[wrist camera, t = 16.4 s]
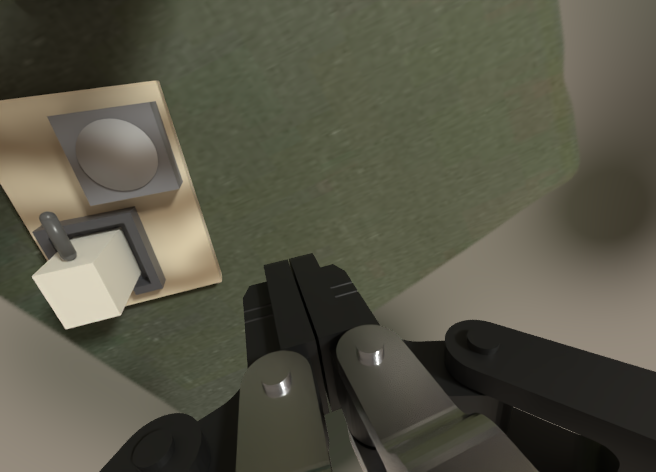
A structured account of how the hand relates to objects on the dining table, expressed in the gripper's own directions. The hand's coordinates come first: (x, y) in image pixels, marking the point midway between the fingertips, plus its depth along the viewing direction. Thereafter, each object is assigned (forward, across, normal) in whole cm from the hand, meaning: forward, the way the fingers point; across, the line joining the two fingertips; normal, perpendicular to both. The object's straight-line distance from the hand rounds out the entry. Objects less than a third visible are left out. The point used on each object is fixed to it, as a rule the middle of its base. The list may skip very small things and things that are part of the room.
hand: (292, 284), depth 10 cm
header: (+24, +15, +7) cm, 29 cm away
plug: (+23, +15, +5) cm, 28 cm away
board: (+25, +13, +3) cm, 28 cm away
